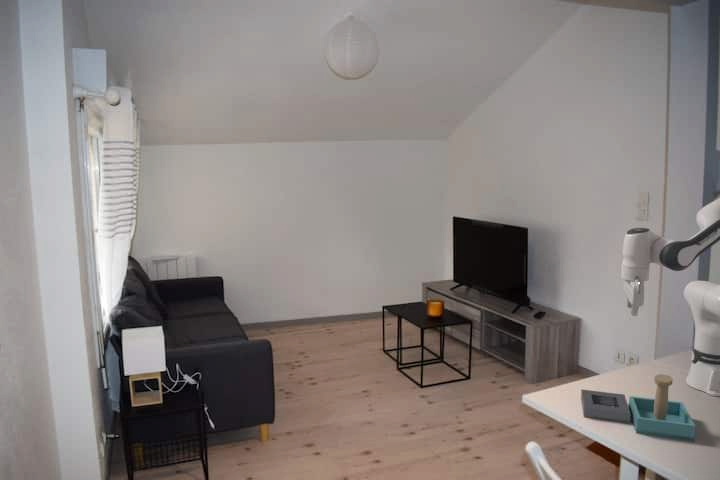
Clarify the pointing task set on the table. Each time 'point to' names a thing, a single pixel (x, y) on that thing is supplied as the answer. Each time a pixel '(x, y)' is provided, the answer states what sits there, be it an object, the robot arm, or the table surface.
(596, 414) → the socket block
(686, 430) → the bin
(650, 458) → the table surface
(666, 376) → the handle
